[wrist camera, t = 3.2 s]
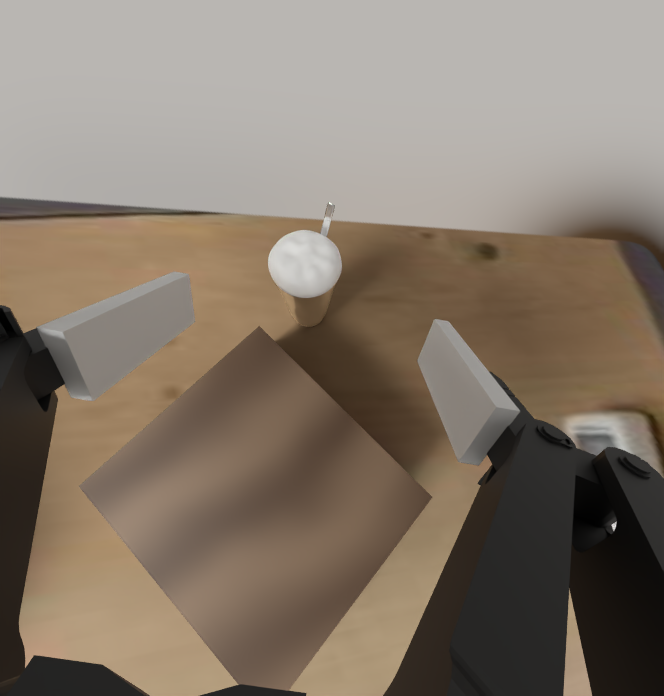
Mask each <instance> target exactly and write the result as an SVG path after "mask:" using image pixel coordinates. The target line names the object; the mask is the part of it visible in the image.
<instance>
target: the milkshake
mask: <svg viewBox="0 0 664 696" xmlns="http://www.w3.org/2000/svg"><path fill="white" fill-rule="evenodd" d="M334 208H335V205H333V204H331V203H328V205H327V209H326V213H325V217H324V221H323V225H322V229H321V233H320V234H319V233H317V232H313V231H309V230H299V231H295V232H292V233H289V234H287V235H285V236H284V237H282V238H281V239H280V240H279V241H278V242H277V243H276V244H275V246H274V247H273V248H272V250H271V252H270V254H269V258H268V267H269V271H270V274H271V276H272V279H273V280H274V282H275V284H276V286H277V288H278V290H279V291H280V293H281V295H282V297H283V299H284V302H285V304H286V306H287V308H288V310H289V312H290V314H291V316H292V318H293V319H294V320H295V321H296V322H297V323H298V324H299V325H302V326H307V327H312V326H314V325H316V324H319V323H320V322H321V321H322V319H323V317H324V316H325V314H326V312H327V309H328V306H329V303H330V299H331V296H332V293H333V291H334V288H335V286H336V284H337V281H338V279H339V277H340V274H341V270H342V262H341V256H340V253H339V250H338V248H337V247H336V245H335V244H334V243H333V242H332V241H331V240H329V239H328V238H327V234H328V231H329V227H330V223H331V219H332V216H333V212H334Z"/></svg>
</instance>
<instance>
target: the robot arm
mask: <svg viewBox="0 0 664 696" xmlns="http://www.w3.org/2000/svg"><path fill="white" fill-rule="evenodd" d="M194 322H195V317H194V309H193V301H192V294H191V286H190V278H189V274H185V273H180V272H172V273H169V274H167V275H164V276H162V277H159V278H157V279H154V280H152V281H150V282H147V283H145V284H142V285H140V286H137V287H135V288H132V289H130V290H127V291H125V292H122V293H120V294H117V295H115V296H112V297H110V298H107V299H105V300H102V301H100V302H98V303H95V304H93V305H90V306H88V307H85V308H83V309H80V310H78V311H75V312H73V313H70V314H68V315H65V316H63V317H60V318H58V319H55V320H53V321H50V322H48V323H46V324H43V325H41V326H38V327H36V329H33V330H31V331H28V332H26V333H23V332H22V330H21V328H20V326H19V324H18V322H17V320H16V318H15V317H14V315H13V313H12V311H11V309H10V308H8V307H6V306H2V305H0V696H149V695H148V694H147V693H145V692H144V691H142V690H141V689H139V688H138V687H136V686H135V685H133V684H132V683H130V682H128V681H127V680H125V679H124V678H122V677H121V676H119V675H118V674H116V673H114V672H113V671H111V670H110V669H108V668H107V667H105V666H104V665H100V664H93V663H86V662H79V661H72V660H65V659H57V658H50V657H43V656H36V655H34V657H33V658H32V659H31V661H30V662H29V664H28V665H27V667H26V668H25V651H24V645H23V642H22V639H21V636H20V632H19V614H20V608H21V603H22V597H23V592H24V586H25V580H26V575H27V569H28V564H29V558H30V553H31V547H32V541H33V536H34V530H35V525H36V519H37V514H38V508H39V502H40V497H41V491H42V486H43V480H44V475H45V469H46V463H47V458H48V452H49V447H50V441H51V436H52V430H53V424H54V419H55V413H56V408H57V402H58V398H57V395H56V393H55V391H54V390H56V389H57V388H59V387H60V386H62V385H64V384H65V386H66V388H67V390H68V392H69V394H70V396H71V398H77V399H83V400H89V401H94V400H95V399H97V398H98V397H99V396H100V395H102V394H103V393H104V392H106V391H107V390H108V389H109V388H111V387H112V386H113V385H115V384H116V383H117V382H118V381H120V380H121V379H122V378H124V377H125V376H126V375H127V374H129V373H130V372H131V371H133V370H134V369H135V368H136V367H138V366H139V365H140V364H142V363H143V362H144V361H145V360H147V359H148V358H149V357H151V356H152V355H153V354H154V353H156V352H157V351H158V350H160V349H161V348H162V347H163V346H165V345H166V344H167V343H169V342H170V341H171V340H172V339H174V338H175V337H176V336H177V335H179V334H180V333H181V332H183V331H184V330H185V329H186V328H188V327H189V326H190V325H192V324H193V323H194ZM417 362H418V364H419V367H420V369H421V372H422V374H423V376H424V379H425V381H426V384H427V386H428V389H429V391H430V394H431V396H432V398H433V401H434V403H435V406H436V408H437V411H438V413H439V416H440V418H441V421H442V423H443V425H444V428H445V430H446V433H447V435H448V438H449V440H450V443H451V445H452V448H453V450H454V452H455V455H456V457H457V460H458V462H461V463H467V464H473V465H480V463H481V462H482V461H483V459H484V458H485V457H486V455H488V457H489V459H490V461H491V462H492V466H491V467H490V468H489V469H488V471H487V472H486V473H485V474H484V476H483V477H482V478H481V479H480V481H479V482H478V484H479V485H481V486H480V488H479V491H478V493H477V495H476V497H475V500H474V502H473V504H472V506H471V509H470V511H469V513H468V515H467V518H466V520H465V522H464V524H463V526H462V529H461V531H460V533H459V535H458V538H457V540H456V542H455V544H454V547H453V549H452V551H451V553H450V556H449V558H448V560H447V562H446V565H445V567H444V569H443V571H442V573H441V576H440V578H439V580H438V582H437V585H436V587H435V589H434V591H433V594H432V596H431V598H430V600H429V603H428V605H427V607H426V609H425V611H424V614H423V616H422V618H421V620H420V623H419V625H418V627H417V629H416V632H415V634H414V636H413V638H412V641H411V643H410V645H409V647H408V649H407V652H406V654H405V656H404V658H403V661H402V663H401V665H400V667H399V670H398V672H397V674H396V676H395V678H394V679H393V681H392V683H391V685H390V686H389V688H388V689H387V691H386V692H385V694H384V695H383V696H563V689H564V671H565V653H566V635H567V617H568V599H569V588H570V593H571V598H572V602H573V607H574V612H575V616H576V621H577V626H578V630H579V635H580V640H581V644H582V649H583V654H584V659H585V663H586V668H587V673H588V677H589V682H590V687H591V691H592V696H664V479H663V478H662V476H661V475H660V474H659V473H658V472H657V471H656V470H655V469H653V468H652V467H651V466H650V465H649V464H648V463H647V462H645V461H644V460H641V458H639V457H637V456H636V455H633V454H630V453H628V452H626V451H624V450H621V449H618V448H615V447H607V448H606V449H604V450H603V451H602V452H601V453H600V454H599V455H598V456H595V455H593V454H590V453H588V452H585V451H582V450H580V449H577V448H576V446H575V444H574V443H573V441H572V440H571V439H570V438H569V437H568V436H567V435H566V434H565V433H563V432H562V431H561V430H559V429H558V428H556V427H554V426H553V425H551V424H548V423H546V422H544V421H540V420H536V419H534V418H533V417H532V416H531V414H530V413H529V412H528V411H527V410H526V408H525V407H524V406H523V405H522V404H521V402H520V401H519V400H518V399H517V398H516V397H515V395H514V394H513V393H512V392H511V390H509V388H508V387H507V386H506V384H505V383H504V382H503V381H502V380H501V379H500V378H498V377H497V376H496V375H494V374H493V373H492V372H489V371H488V370H487V369H486V368H485V366H484V365H483V364H482V363H481V361H480V360H479V359H478V358H477V356H476V355H475V354H474V353H473V351H472V350H471V349H470V348H469V346H468V345H467V344H466V343H465V341H464V340H463V339H462V338H461V336H460V335H459V334H458V333H457V331H456V330H455V329H454V328H453V326H452V325H451V324H450V323H449V321H444V320H439V319H434V321H433V324H432V326H431V329H430V331H429V334H428V336H427V338H426V341H425V343H424V346H423V348H422V351H421V353H420V355H419V358H418V360H417ZM616 521H617V524H616V528H615V531H613V529H612V526H611V525H612V524H613V523H615V522H616ZM200 696H306V693H301V692H294V691H287V690H279V689H272V688H265V687H258V686H251V685H244V684H240V685H236V686H233V687H229V688H225V689H222V690H218V691H215V692H211V693H208V694H204V695H200Z"/></svg>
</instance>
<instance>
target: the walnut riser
mask: <svg viewBox="0 0 664 696" xmlns="http://www.w3.org/2000/svg"><path fill="white" fill-rule="evenodd" d="M79 487H80V488H81V490H82V491H83V492H84V493H85V495H86V496H87V497H88V498H89V500H90V501H91V502H92V503H93V504H94V506H95V507H96V508H97V509H98V511H99V512H100V513H101V514H102V516H103V517H104V518H105V519H106V521H107V522H108V523H109V524H110V526H111V527H112V528H113V529H114V531H115V532H116V533H117V534H118V536H119V537H120V538H121V539H122V540H123V542H124V543H125V544H126V545H127V547H128V548H129V549H130V550H131V552H132V553H133V554H134V555H135V557H136V558H137V559H138V560H139V562H140V563H141V564H142V565H143V567H144V568H145V569H146V570H147V572H148V573H149V574H150V575H151V576H152V578H153V579H154V580H155V581H156V583H157V584H158V585H159V586H160V588H161V589H162V590H163V591H164V593H165V594H166V595H167V596H168V598H169V599H170V600H171V601H172V603H173V604H174V605H175V606H176V607H177V609H178V610H179V611H180V612H181V614H182V615H183V616H184V617H185V619H186V620H187V621H188V622H189V624H190V625H191V626H192V627H193V629H194V630H195V631H196V632H197V634H198V635H199V636H200V637H201V639H202V640H203V641H204V642H205V643H206V645H207V646H208V647H209V648H210V650H211V651H212V652H213V653H214V655H215V656H216V657H217V658H218V660H219V661H220V662H221V663H222V665H223V666H224V667H225V668H226V670H227V671H228V672H229V673H230V675H231V676H232V677H233V678H234V679H235V681H236V682H237V683H238V684H239V685H240V684H244V685H251V686H258V687H265V688H272V689H279V690H287V691H288V690H289V689H290V688H291V686H292V685H293V684H294V682H295V681H296V680H297V678H298V677H299V676H300V674H301V673H302V672H303V670H304V669H305V668H306V666H307V665H308V664H309V662H310V661H311V660H312V658H313V657H314V656H315V654H316V653H317V651H318V650H319V649H320V647H321V646H322V645H323V643H324V642H325V641H326V639H327V638H328V637H329V635H330V634H331V633H332V631H333V630H334V629H335V627H336V626H337V625H338V623H339V622H340V621H341V619H342V618H343V617H344V615H345V614H346V613H347V611H348V610H349V608H350V607H351V606H352V604H353V603H354V602H355V600H356V599H357V598H358V596H359V595H360V594H361V592H362V591H363V590H364V588H365V587H366V586H367V584H368V583H369V582H370V580H371V579H372V578H373V576H374V575H375V574H376V572H377V571H378V570H379V568H380V567H381V565H382V564H383V563H384V561H385V560H386V559H387V557H388V556H389V555H390V553H391V552H392V551H393V549H394V548H395V547H396V545H397V544H398V543H399V541H400V540H401V539H402V537H403V536H404V535H405V533H406V532H407V531H408V529H409V528H410V527H411V525H412V524H413V522H414V521H415V520H416V518H417V517H418V516H419V514H420V513H421V512H422V510H423V509H424V508H425V506H426V505H427V504H428V502H429V501H430V500H431V498H432V496H431V495H430V494H429V493H427V492H426V491H425V490H424V489H423V488H422V487H421V486H420V485H419V484H418V483H417V482H416V481H415V480H414V479H413V478H412V477H411V476H410V475H409V474H408V473H407V472H406V471H405V470H404V469H403V468H402V467H401V466H400V465H399V464H398V463H397V462H396V461H395V460H394V459H393V458H392V457H391V456H390V455H389V454H388V453H387V452H386V451H385V450H384V449H383V448H382V447H381V446H380V445H379V444H378V443H377V442H376V441H375V440H374V439H373V438H372V437H371V436H370V435H369V434H368V433H367V432H366V431H365V430H364V429H363V428H362V427H361V426H360V425H359V424H358V423H357V422H356V421H355V420H354V419H353V418H352V417H351V416H350V415H349V414H348V413H347V412H346V411H345V410H344V409H343V408H341V407H340V406H339V405H338V404H337V403H336V402H335V401H334V400H333V399H332V398H331V397H330V396H329V395H328V394H327V393H326V392H325V391H324V390H323V389H322V388H321V387H320V386H319V385H318V384H317V383H316V382H315V381H314V380H313V379H312V378H311V377H310V376H309V375H308V374H307V373H306V372H305V371H304V370H303V369H302V368H301V367H300V366H299V365H298V364H297V363H296V362H295V361H294V360H293V359H292V358H291V357H290V356H289V355H288V354H287V353H286V352H285V351H284V350H283V349H282V348H281V347H280V346H279V345H278V344H277V343H276V342H275V341H274V340H273V339H272V338H271V337H270V336H269V335H268V334H267V333H266V332H265V331H264V330H263V329H262V328H261V327H260V326H259V327H258V328H257V329H255V330H254V331H253V332H252V333H251V334H250V335H249V336H247V337H246V338H245V339H244V340H243V341H242V342H241V343H240V344H238V345H237V346H236V347H235V348H234V349H233V350H232V351H231V352H229V353H228V354H227V355H226V356H225V357H224V358H223V359H222V360H220V361H219V362H218V363H217V364H216V365H215V366H214V367H213V368H211V369H210V370H209V371H208V372H207V373H206V374H205V375H204V376H202V377H201V378H200V379H199V380H198V381H197V382H196V383H195V384H193V385H192V386H191V387H190V388H189V389H188V390H187V391H186V392H184V393H183V394H182V395H181V396H180V397H179V398H178V399H177V400H175V401H174V402H173V403H172V404H171V405H170V406H169V407H168V408H166V409H165V410H164V411H163V412H162V413H161V414H160V415H159V416H157V417H156V418H155V419H154V420H153V421H152V422H151V423H150V424H148V425H147V426H146V427H145V428H144V429H143V430H142V431H140V432H139V433H138V434H137V435H136V436H135V437H134V438H133V439H131V440H130V441H129V442H128V443H127V444H126V445H125V446H124V447H122V448H121V449H120V450H119V451H118V452H117V453H116V454H115V455H113V456H112V457H111V458H110V459H109V460H108V461H107V462H106V463H104V464H103V465H102V466H101V467H100V468H99V469H98V470H97V471H95V472H94V473H93V474H92V475H91V476H90V477H89V478H88V479H86V480H85V481H84V482H83V483H82V484H81V485H80V486H79Z"/></svg>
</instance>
